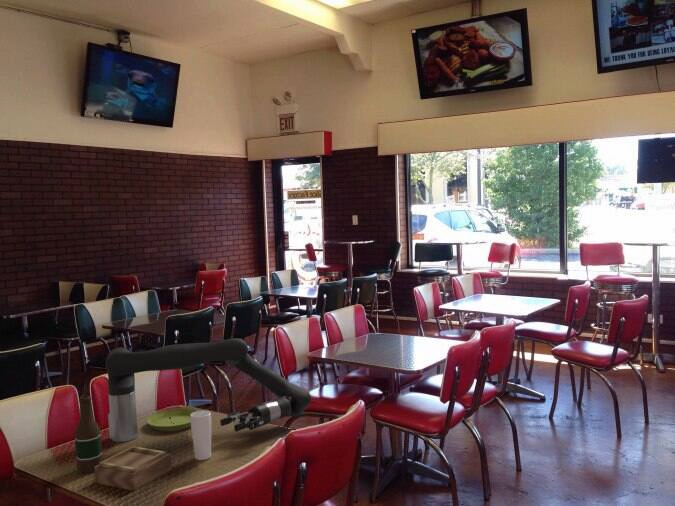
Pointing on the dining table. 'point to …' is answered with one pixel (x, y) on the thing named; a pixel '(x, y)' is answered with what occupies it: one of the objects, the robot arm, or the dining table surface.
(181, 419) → the saucer
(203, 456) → the drinking glass
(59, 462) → the dining table surface
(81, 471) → the beer bottle
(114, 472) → the wooden box
